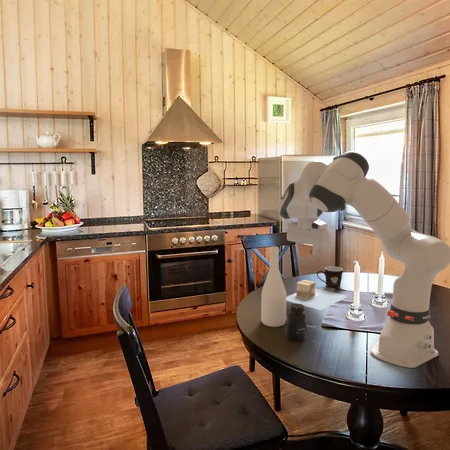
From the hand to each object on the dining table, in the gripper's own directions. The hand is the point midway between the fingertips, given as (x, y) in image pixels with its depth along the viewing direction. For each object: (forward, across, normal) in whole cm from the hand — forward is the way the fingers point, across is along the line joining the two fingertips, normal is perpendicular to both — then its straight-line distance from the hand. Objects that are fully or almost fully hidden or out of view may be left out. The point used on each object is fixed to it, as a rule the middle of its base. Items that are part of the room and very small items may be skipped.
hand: (306, 253), depth 180 cm
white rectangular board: (+21, +5, 0) cm, 21 cm away
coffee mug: (+21, +1, +20) cm, 29 cm away
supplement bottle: (+21, +21, -38) cm, 48 cm away
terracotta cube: (+1, 0, 0) cm, 1 cm away
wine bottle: (+21, +7, -33) cm, 40 cm away
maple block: (+20, 0, 0) cm, 20 cm away
